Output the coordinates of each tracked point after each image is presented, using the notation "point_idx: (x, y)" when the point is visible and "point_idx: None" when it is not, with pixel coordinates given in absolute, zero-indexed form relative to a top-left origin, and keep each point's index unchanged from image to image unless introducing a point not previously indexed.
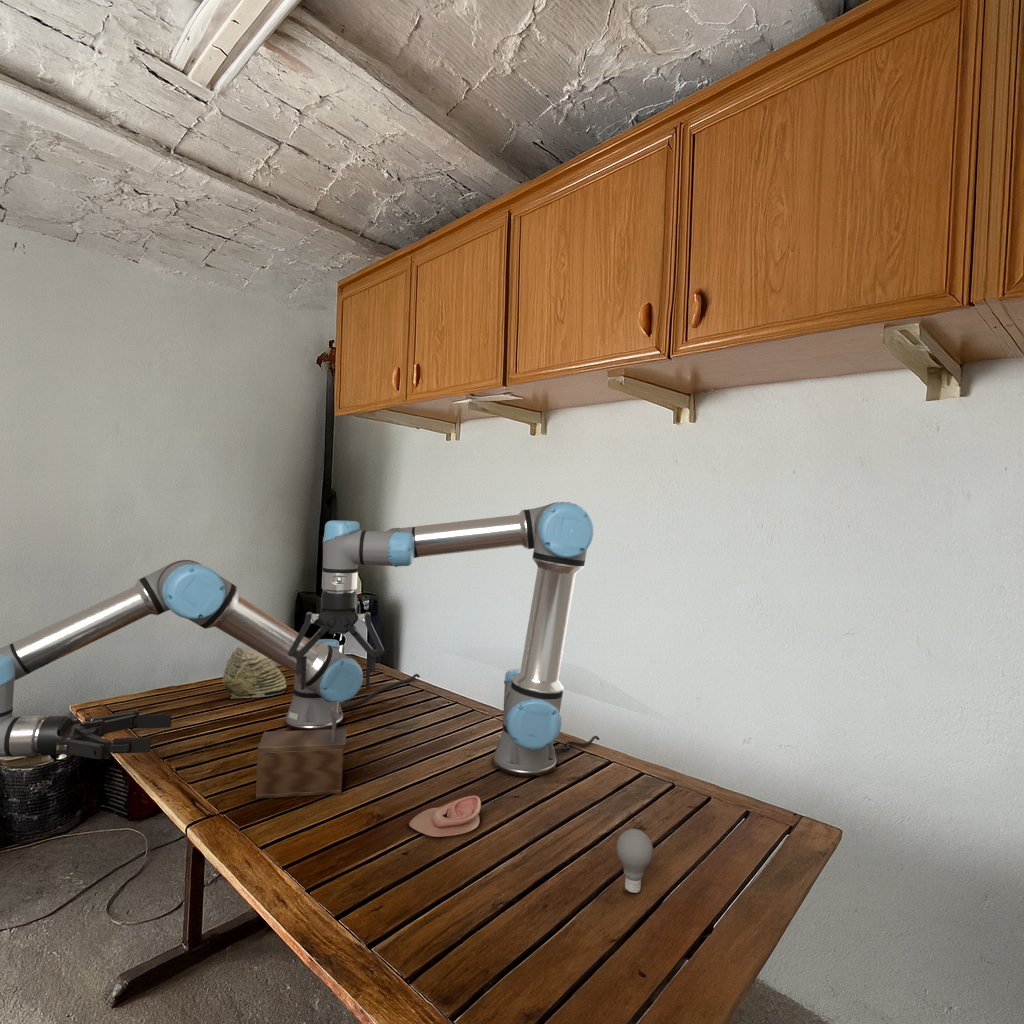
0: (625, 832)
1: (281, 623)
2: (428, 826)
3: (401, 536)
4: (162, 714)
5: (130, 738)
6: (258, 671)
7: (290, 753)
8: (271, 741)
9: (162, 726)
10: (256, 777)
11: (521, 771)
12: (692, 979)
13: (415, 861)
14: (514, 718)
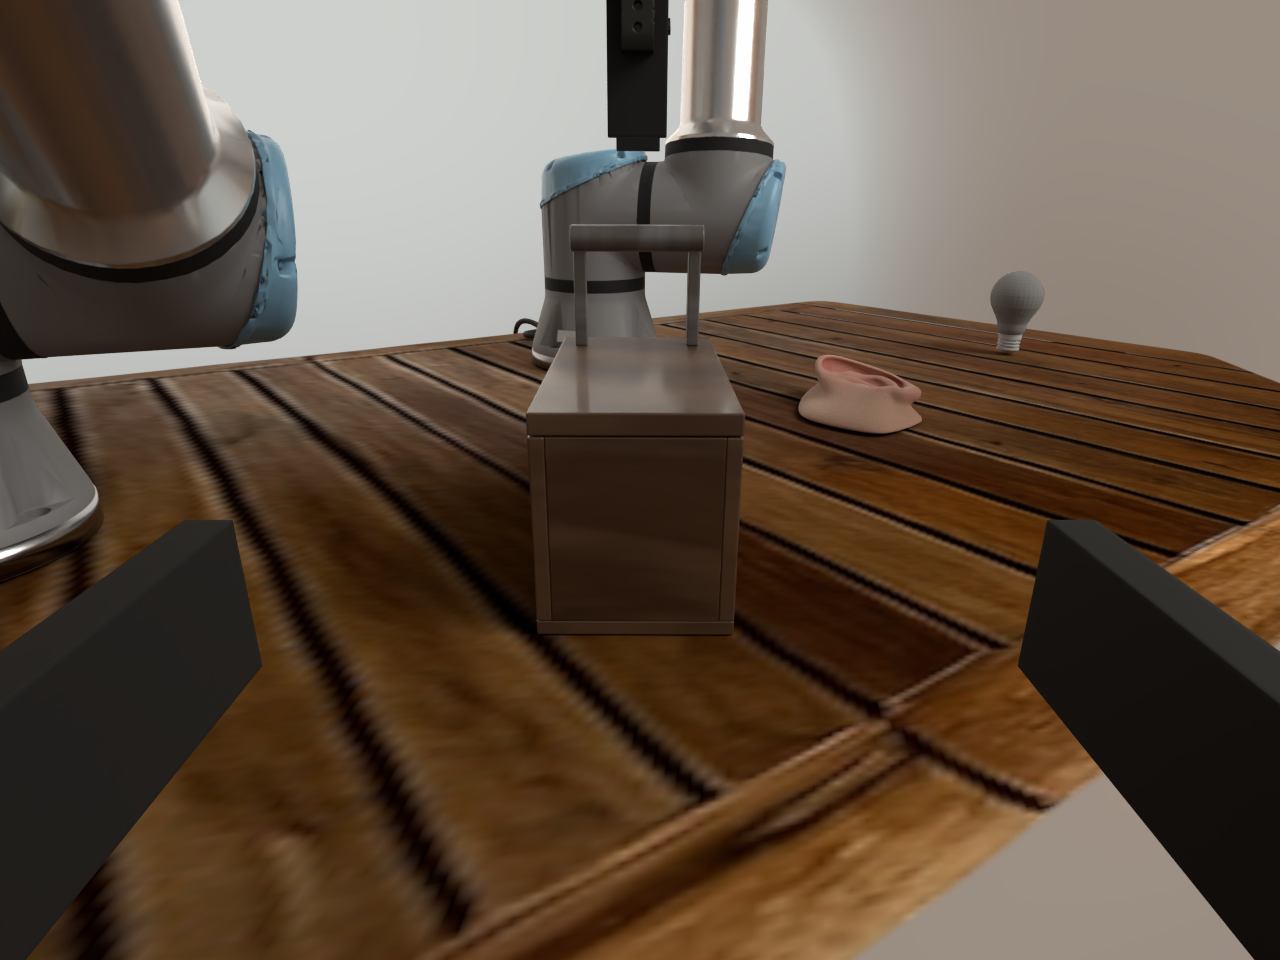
0: (1019, 276)
1: None
2: (903, 411)
3: None
4: (116, 572)
5: (1232, 646)
6: None
7: None
8: (667, 399)
9: (214, 704)
10: (735, 549)
11: None
12: (1160, 354)
13: (1020, 437)
14: (777, 201)
